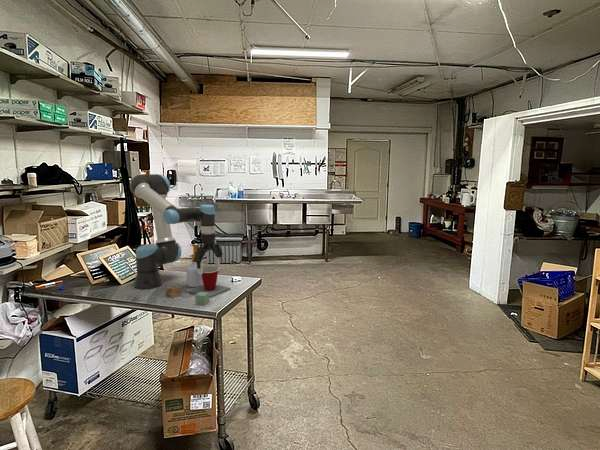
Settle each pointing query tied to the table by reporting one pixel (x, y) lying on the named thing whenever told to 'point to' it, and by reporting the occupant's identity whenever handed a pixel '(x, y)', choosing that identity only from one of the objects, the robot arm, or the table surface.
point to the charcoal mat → (212, 293)
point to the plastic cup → (209, 277)
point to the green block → (202, 298)
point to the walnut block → (173, 291)
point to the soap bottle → (194, 272)
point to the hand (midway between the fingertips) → (209, 271)
